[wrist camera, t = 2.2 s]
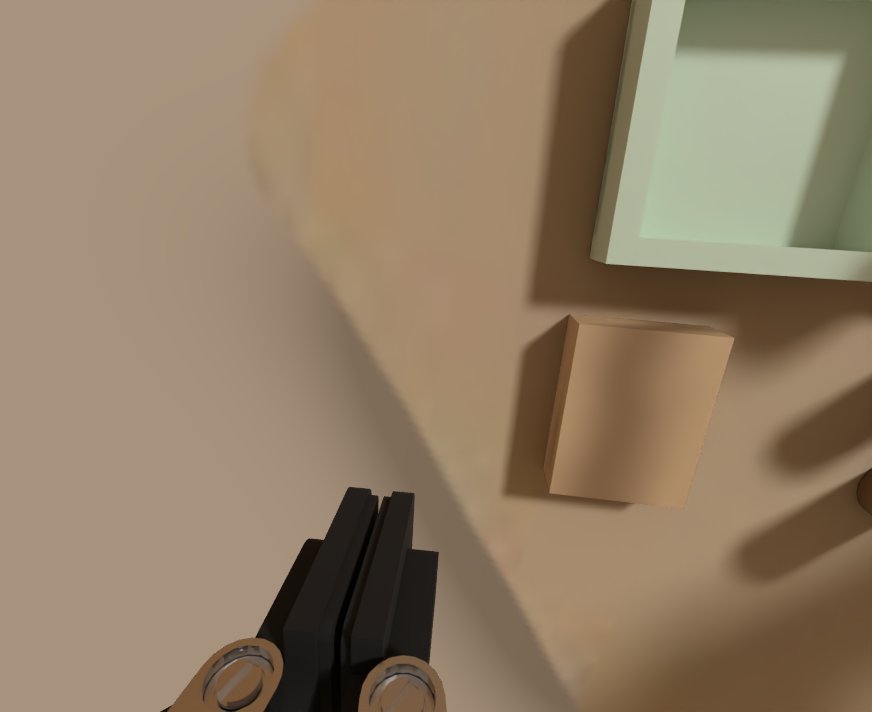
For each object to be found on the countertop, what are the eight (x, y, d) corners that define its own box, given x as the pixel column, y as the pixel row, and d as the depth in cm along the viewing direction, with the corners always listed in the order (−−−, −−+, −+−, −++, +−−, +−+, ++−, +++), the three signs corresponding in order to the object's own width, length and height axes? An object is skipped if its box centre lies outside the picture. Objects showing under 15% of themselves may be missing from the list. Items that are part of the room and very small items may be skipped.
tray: (939, -22, 14) (1030, -71, 12) (837, 275, 17) (893, 283, 15) (636, -28, 15) (665, -74, 13) (589, 258, 18) (605, 263, 16)
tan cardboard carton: (704, 324, 19) (734, 337, 17) (662, 478, 21) (684, 508, 19) (567, 312, 19) (579, 324, 17) (541, 465, 22) (549, 493, 20)
